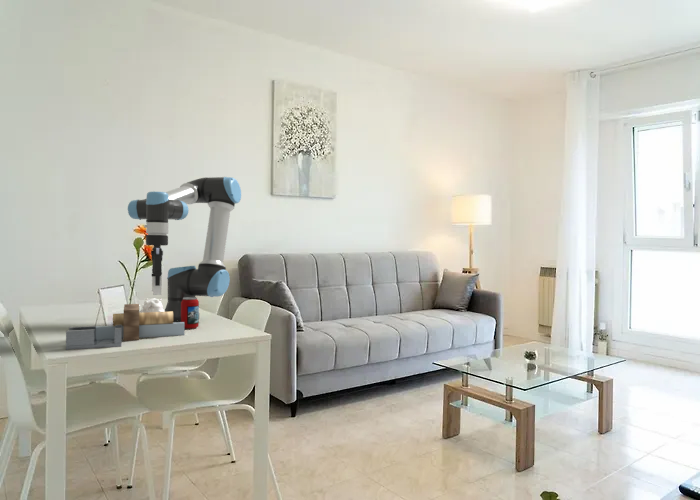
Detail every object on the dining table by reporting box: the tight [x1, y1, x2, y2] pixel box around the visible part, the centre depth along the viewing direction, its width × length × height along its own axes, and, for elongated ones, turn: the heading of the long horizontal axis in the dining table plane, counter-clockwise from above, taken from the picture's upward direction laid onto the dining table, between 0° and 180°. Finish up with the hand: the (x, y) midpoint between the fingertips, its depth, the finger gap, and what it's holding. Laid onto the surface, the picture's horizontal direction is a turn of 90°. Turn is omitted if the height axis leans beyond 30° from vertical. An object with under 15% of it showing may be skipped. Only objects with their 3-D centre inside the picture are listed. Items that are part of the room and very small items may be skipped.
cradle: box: [65, 325, 123, 351], centre depth 170 cm, size 16×9×6 cm, turn 113°
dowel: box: [112, 311, 174, 326], centre depth 185 cm, size 20×4×4 cm, turn 113°
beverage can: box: [180, 296, 200, 330], centre depth 204 cm, size 7×7×12 cm
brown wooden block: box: [122, 303, 140, 342], centre depth 186 cm, size 5×17×11 cm, turn 23°
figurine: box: [139, 297, 165, 313], centre depth 201 cm, size 10×10×12 cm
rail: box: [95, 321, 185, 340], centre depth 185 cm, size 30×2×4 cm, turn 113°
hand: (156, 293), depth 187 cm, fingers open, 13 cm apart
